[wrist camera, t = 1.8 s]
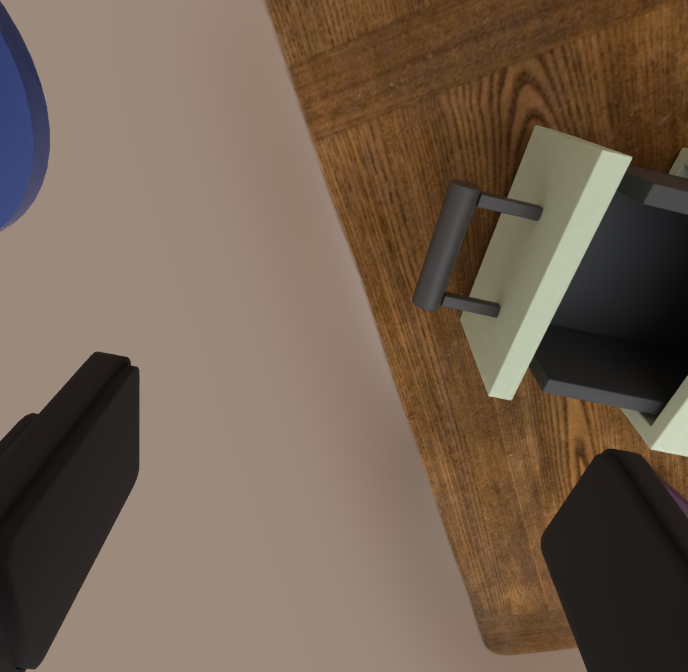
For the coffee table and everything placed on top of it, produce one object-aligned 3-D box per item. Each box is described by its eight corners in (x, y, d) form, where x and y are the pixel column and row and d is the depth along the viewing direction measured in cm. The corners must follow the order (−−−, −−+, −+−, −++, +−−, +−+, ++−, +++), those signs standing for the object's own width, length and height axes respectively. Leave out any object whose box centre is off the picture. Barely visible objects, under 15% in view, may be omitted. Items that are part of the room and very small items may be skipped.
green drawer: (392, 305, 29) (401, 378, 22) (452, 104, 23) (488, 121, 17) (675, 365, 30) (763, 451, 24) (796, 189, 25) (958, 236, 18)
